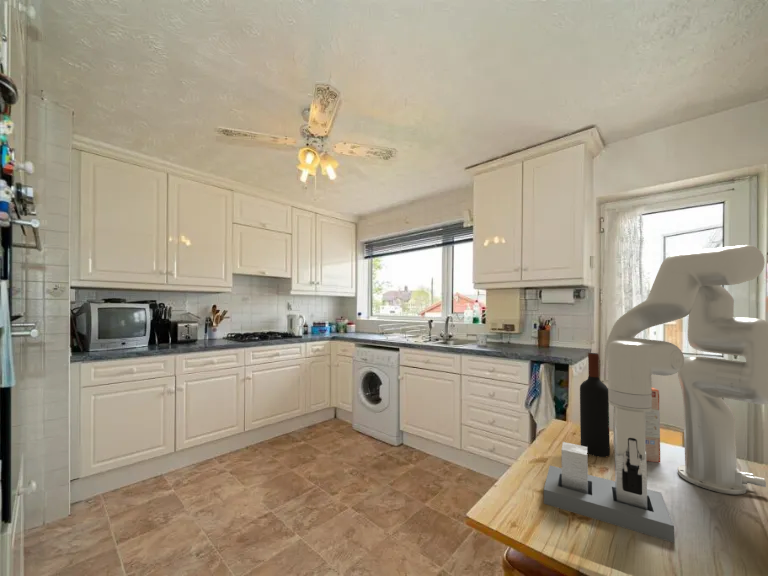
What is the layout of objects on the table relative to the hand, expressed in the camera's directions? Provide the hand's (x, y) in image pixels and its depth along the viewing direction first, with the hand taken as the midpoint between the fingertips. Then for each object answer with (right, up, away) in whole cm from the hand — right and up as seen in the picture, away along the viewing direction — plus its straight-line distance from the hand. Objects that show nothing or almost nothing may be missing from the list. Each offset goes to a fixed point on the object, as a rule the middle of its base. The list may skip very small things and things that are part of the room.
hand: (630, 484), depth 70 cm
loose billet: (0, -3, 0) cm, 3 cm away
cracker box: (+26, -9, +32) cm, 42 cm away
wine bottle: (+13, -9, +31) cm, 35 cm away
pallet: (-4, -7, +3) cm, 9 cm away
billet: (-9, -6, +5) cm, 12 cm away
